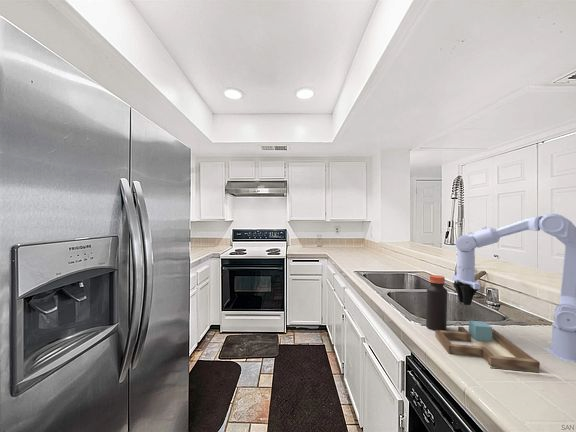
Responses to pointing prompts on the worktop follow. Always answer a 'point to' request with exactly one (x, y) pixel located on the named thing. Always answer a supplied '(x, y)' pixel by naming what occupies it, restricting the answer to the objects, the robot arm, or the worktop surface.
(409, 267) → the worktop surface
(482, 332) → the block
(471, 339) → the wooden zigzag frame
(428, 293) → the bottle
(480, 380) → the worktop surface
